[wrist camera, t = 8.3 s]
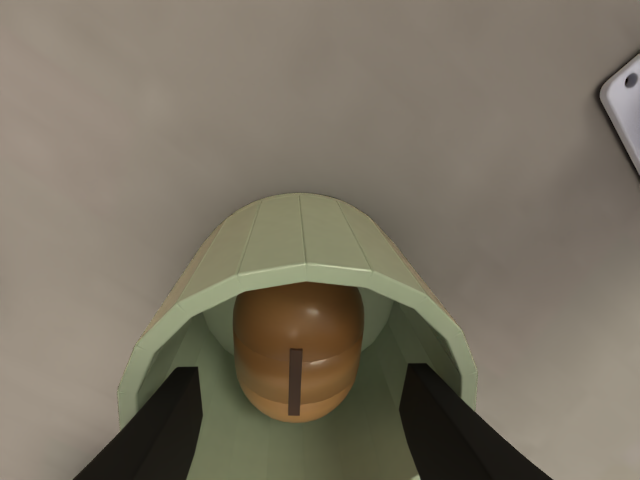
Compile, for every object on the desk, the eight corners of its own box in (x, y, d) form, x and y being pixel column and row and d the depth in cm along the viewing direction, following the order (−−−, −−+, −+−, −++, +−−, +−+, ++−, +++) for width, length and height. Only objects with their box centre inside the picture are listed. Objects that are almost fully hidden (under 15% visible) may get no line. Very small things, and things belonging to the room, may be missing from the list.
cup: (298, 142, 13) (306, 172, 6) (439, 288, 16) (539, 407, 10) (148, 298, 15) (39, 441, 8) (300, 400, 18) (306, 560, 12)
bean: (245, 229, 14) (209, 290, 9) (361, 235, 14) (385, 297, 9) (249, 355, 16) (222, 454, 11) (347, 359, 16) (360, 457, 12)
